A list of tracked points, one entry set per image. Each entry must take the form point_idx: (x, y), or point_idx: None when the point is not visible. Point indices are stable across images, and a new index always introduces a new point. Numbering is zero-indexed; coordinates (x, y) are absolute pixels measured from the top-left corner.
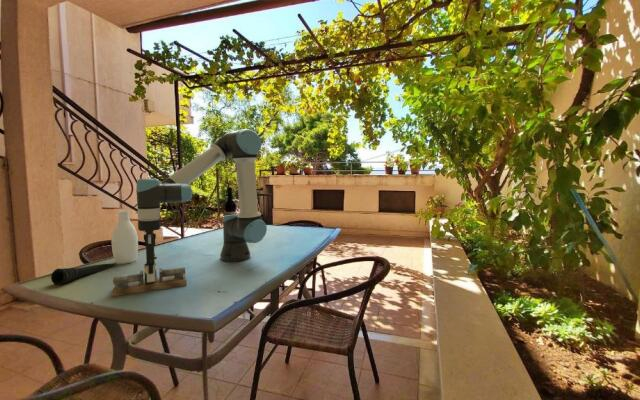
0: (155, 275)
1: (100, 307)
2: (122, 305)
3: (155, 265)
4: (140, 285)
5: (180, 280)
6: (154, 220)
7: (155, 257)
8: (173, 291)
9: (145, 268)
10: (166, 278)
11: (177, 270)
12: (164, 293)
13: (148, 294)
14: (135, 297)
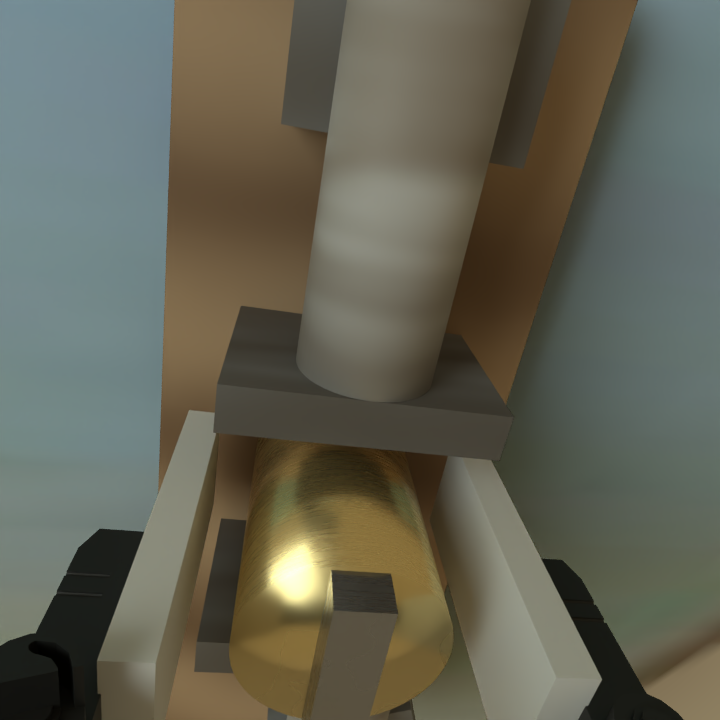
0: (394, 463)
1: None
2: (659, 621)
3: (393, 591)
4: None
5: (580, 73)
6: None
7: (18, 700)
8: (693, 223)
9: (393, 695)
10: (309, 256)
11: (506, 93)
12: (670, 324)
13: (566, 458)
14: (556, 549)
